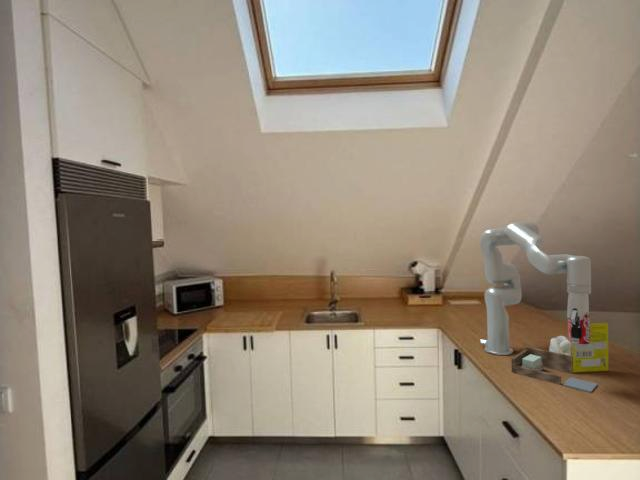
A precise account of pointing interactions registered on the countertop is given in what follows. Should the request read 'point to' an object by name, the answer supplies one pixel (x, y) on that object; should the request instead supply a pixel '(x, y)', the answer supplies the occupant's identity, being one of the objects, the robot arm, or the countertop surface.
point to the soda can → (585, 332)
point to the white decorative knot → (561, 345)
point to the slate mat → (580, 384)
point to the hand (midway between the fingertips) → (579, 335)
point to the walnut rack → (548, 360)
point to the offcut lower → (536, 367)
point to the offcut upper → (531, 361)
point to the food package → (592, 351)
